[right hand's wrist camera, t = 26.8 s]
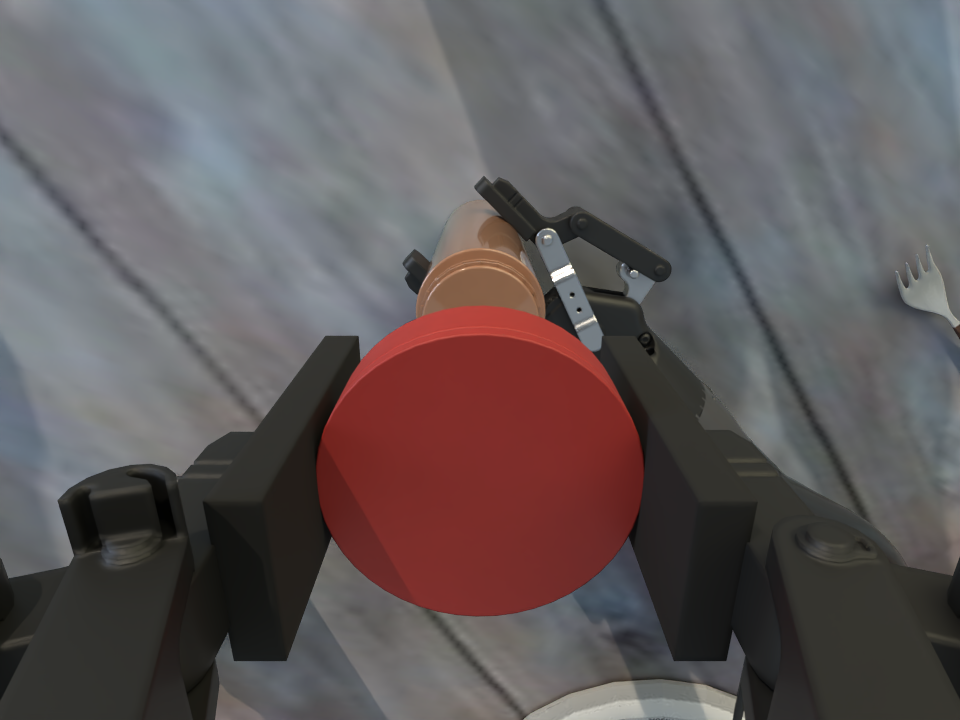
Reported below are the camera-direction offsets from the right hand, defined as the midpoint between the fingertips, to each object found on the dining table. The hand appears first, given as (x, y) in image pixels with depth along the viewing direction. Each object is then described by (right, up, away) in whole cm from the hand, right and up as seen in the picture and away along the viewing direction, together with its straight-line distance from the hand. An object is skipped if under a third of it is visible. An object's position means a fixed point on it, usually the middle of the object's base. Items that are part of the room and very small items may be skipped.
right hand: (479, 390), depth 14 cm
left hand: (-2, +8, +17) cm, 19 cm away
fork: (+32, +3, +25) cm, 41 cm away
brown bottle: (0, +8, +23) cm, 25 cm away
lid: (0, -1, -4) cm, 4 cm away
